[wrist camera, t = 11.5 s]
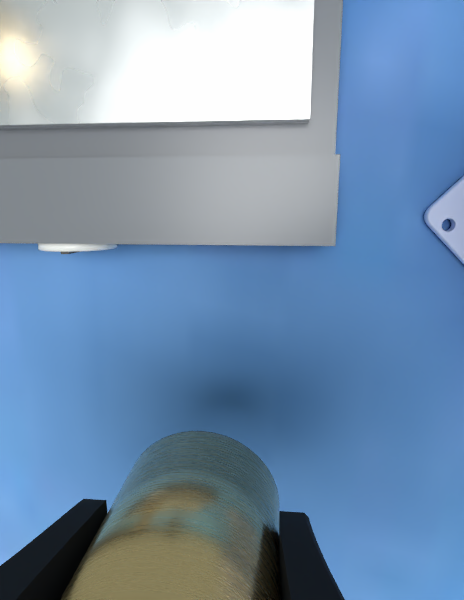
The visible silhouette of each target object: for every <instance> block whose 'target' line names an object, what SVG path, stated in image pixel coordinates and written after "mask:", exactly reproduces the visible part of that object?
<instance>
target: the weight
mask: <svg viewBox="0 0 464 600" xmlns="http://www.w3.org/2000/svg"><path fill="white" fill-rule="evenodd" d="M60 600H281V590H280V571H279V496H278V491H277V487H276V484H275V481H274V479H273V477H272V475H271V473H270V471H269V470H268V468H267V467H266V465H265V464H264V463H263V461H262V460H261V459H260V458H259V457H258V456H257V455H256V454H255V453H254V452H252V451H251V450H250V449H249V448H247V447H246V446H244V445H243V444H241V443H240V442H238V441H236V440H234V439H232V438H229V437H226V436H224V435H220V434H216V433H212V432H204V431H188V432H181V433H177V434H173V435H170V436H167V437H165V438H162V439H161V440H159V441H157V442H155V443H154V444H153V445H151V446H150V447H149V448H147V449H146V450H145V451H144V452H143V453H142V454H141V456H140V457H139V458H138V460H137V461H136V463H135V465H134V466H133V468H132V470H131V472H130V474H129V475H128V477H127V479H126V481H125V483H124V484H123V486H122V488H121V490H120V492H119V494H118V495H117V497H116V499H115V501H114V503H113V504H112V506H111V508H110V510H109V512H108V513H107V515H106V517H105V519H104V521H103V523H102V524H101V526H100V528H99V530H98V532H97V533H96V535H95V537H94V539H93V541H92V542H91V544H90V546H89V548H88V550H87V552H86V553H85V555H84V557H83V559H82V561H81V562H80V564H79V566H78V568H77V570H76V572H75V573H74V575H73V577H72V579H71V581H70V582H69V584H68V586H67V588H66V590H65V591H64V593H63V595H62V597H61V599H60Z"/></svg>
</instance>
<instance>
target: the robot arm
mask: <svg viewBox="0 0 464 600" xmlns="http://www.w3.org/2000/svg"><path fill="white" fill-rule="evenodd" d="M447 218H448V219H449V220H450V221H451V227H450V229H449V230H447V231H444V230H443V229H442V223H443V221H444V220H445V219H447ZM424 219H425V222H426V224H427V225H428V226H429V227H430V228H431V229H432V231H433V232H434V233H435V234H436V235H437V236H438V237H439V238H440V239H441V240H442V241H443V242H444V244H445V245H446V246H447V247H448V248H449V249H450V250H451V251H452V252H453V253H454V254H455V256H456V257H457V258H458V259H459V260H460V261H461V262H462V263H463V264H464V176H463V177H462V178H461V179H460V180H458V181H457V182H456V183H455V184H454V185H453V186H452V187H451V188H449V189H448V190H447V191H446V192H445V193H444V194H443V195H442V196H441V197H439V198H438V199H437V200H436V201H435V202H434V203H433V204H432V205H431V206H429V207H428V209H427V210H426V212H425V215H424ZM106 515H107V504H106V500H93V499H83V500H82V501H80V502H79V503H78V504H77V505H75V506H74V507H73V508H72V509H70V510H69V511H68V512H67V513H65V514H64V515H63V516H62V517H61V518H59V519H58V520H57V521H56V522H55V523H53V524H52V525H51V526H50V527H49V528H47V529H46V530H45V531H44V532H42V533H41V534H40V535H39V536H38V537H36V538H35V539H34V540H33V541H31V542H30V543H29V544H28V545H26V546H25V547H24V548H23V549H21V550H20V551H19V552H18V553H16V554H15V555H14V556H13V557H11V558H10V559H9V560H7V561H6V562H5V563H3V564H2V565H1V566H0V600H60V599H61V597H62V595H63V593H64V591H65V590H66V588H67V586H68V584H69V582H70V581H71V579H72V577H73V575H74V573H75V572H76V570H77V568H78V566H79V564H80V562H81V561H82V559H83V557H84V555H85V553H86V552H87V550H88V548H89V546H90V544H91V542H92V541H93V539H94V537H95V535H96V533H97V532H98V530H99V528H100V526H101V524H102V523H103V521H104V519H105V517H106ZM279 571H280V590H281V600H345V599H344V597H343V596H342V594H341V592H340V590H339V588H338V586H337V584H336V582H335V580H334V578H333V576H332V574H331V572H330V570H329V568H328V566H327V564H326V562H325V559H324V557H323V555H322V553H321V550H320V548H319V546H318V543H317V541H316V538H315V536H314V533H313V530H312V527H311V524H310V521H309V517H308V516H307V515H306V514H305V513H300V512H284V511H279Z"/></svg>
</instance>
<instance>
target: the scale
mask: <svg viewBox="0 0 464 600" xmlns="http://www.w3.org/2000/svg"><path fill="white" fill-rule="evenodd" d="M342 9H343V0H0V243H38V249H39V250H42V251H59V252H61V254H71V253H76V252H80V251H96V250H107V249H114V248H117V244H159V245H274V246H335V241H336V223H337V204H338V185H339V166H340V154H335V147H336V127H337V108H338V88H339V68H340V49H341V29H342Z"/></svg>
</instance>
